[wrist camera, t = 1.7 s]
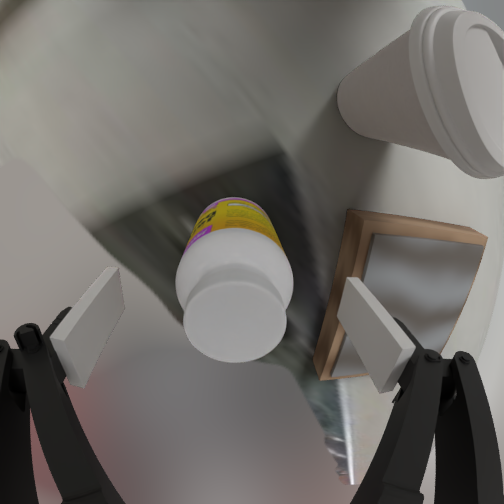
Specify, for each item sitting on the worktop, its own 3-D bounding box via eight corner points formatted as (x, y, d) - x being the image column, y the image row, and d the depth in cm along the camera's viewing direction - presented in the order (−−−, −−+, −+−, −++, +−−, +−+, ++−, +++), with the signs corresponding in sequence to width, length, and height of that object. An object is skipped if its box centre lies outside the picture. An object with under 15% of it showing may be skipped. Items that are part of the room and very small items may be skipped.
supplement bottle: (214, 182, 22) (193, 230, 10) (285, 216, 23) (337, 293, 12) (183, 250, 24) (146, 350, 12) (250, 279, 25) (265, 388, 14)
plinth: (347, 208, 23) (367, 221, 20) (469, 227, 25) (490, 238, 21) (312, 359, 30) (320, 383, 27) (424, 345, 32) (438, 363, 28)
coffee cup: (414, 155, 22) (542, 188, 8) (326, 156, 22) (451, 188, 8) (403, 62, 18) (524, 35, 4) (312, 52, 18) (409, -33, 4)
